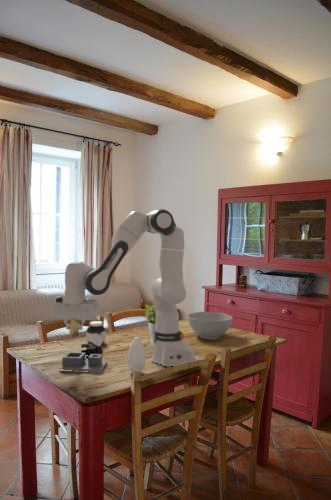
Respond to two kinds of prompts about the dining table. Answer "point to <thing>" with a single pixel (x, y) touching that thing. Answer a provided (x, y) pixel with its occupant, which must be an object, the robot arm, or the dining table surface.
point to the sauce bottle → (136, 355)
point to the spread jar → (96, 333)
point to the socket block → (83, 362)
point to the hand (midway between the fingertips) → (74, 329)
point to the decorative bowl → (209, 324)
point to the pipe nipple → (74, 327)
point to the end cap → (91, 349)
